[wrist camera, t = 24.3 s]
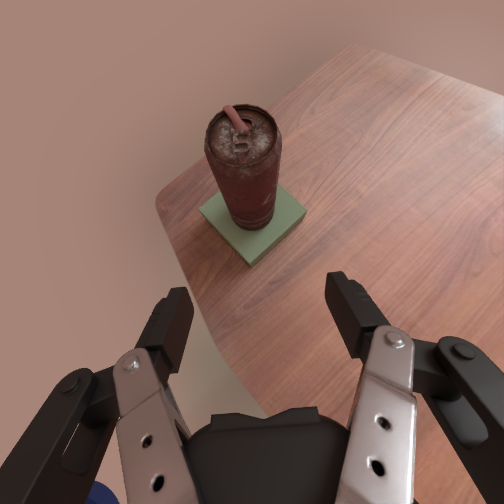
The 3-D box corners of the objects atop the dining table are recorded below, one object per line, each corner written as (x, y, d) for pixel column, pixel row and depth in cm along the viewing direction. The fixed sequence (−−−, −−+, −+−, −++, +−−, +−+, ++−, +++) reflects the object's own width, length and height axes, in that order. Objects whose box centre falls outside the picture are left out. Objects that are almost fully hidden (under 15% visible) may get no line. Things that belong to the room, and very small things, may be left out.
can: (256, 182, 29) (248, 83, 16) (282, 215, 28) (300, 138, 14) (221, 205, 29) (183, 124, 15) (247, 240, 28) (230, 185, 14)
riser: (251, 268, 31) (249, 264, 27) (206, 219, 33) (198, 209, 29) (302, 220, 32) (307, 210, 28) (255, 176, 34) (254, 161, 30)
